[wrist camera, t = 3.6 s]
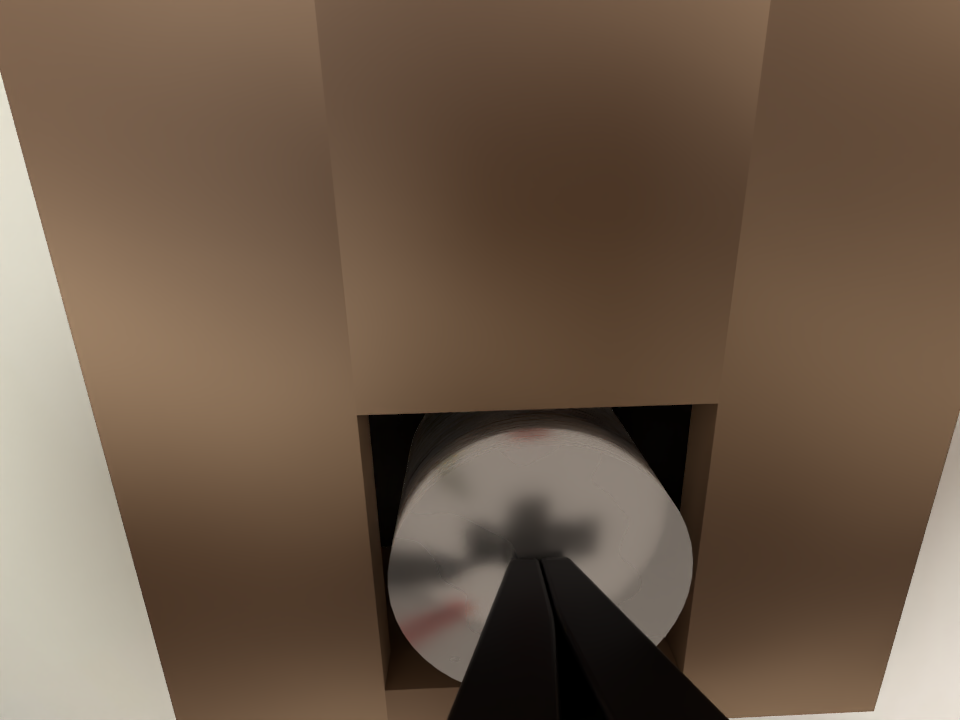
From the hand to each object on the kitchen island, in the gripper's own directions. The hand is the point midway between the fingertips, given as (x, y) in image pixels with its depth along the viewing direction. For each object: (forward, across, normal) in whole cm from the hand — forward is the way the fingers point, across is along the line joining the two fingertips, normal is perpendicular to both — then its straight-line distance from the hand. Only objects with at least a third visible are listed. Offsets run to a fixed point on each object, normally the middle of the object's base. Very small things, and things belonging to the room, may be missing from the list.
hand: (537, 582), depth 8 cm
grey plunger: (+3, 0, 0) cm, 3 cm away
